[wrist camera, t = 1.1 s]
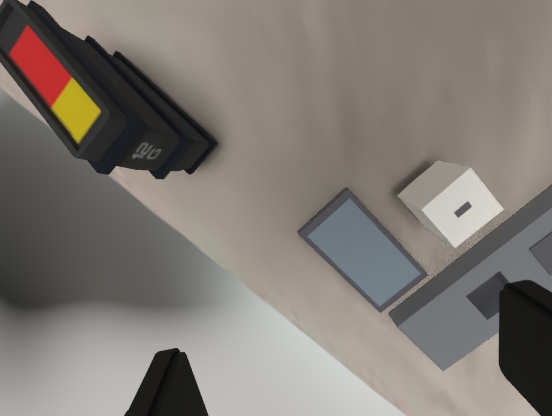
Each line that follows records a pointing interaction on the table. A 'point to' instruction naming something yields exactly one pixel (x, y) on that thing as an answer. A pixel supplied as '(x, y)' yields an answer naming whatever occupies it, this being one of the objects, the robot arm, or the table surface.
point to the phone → (362, 251)
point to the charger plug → (450, 201)
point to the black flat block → (97, 98)
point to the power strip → (479, 285)
